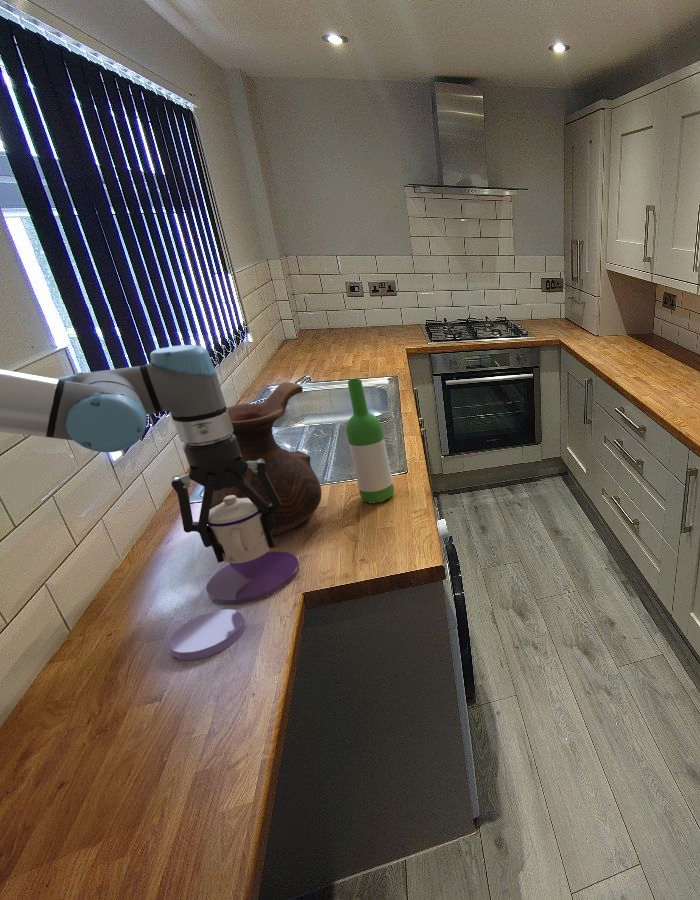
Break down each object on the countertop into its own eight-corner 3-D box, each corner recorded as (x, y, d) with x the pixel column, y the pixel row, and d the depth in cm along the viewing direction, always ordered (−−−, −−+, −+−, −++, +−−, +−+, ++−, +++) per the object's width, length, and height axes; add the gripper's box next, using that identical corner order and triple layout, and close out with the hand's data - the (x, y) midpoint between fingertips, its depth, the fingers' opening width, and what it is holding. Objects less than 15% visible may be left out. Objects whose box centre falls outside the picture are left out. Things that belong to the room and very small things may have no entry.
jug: (323, 536, 114) (288, 405, 102) (206, 557, 107) (155, 419, 95) (333, 493, 133) (305, 377, 121) (234, 508, 126) (194, 388, 114)
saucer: (207, 616, 91) (205, 610, 90) (209, 572, 102) (207, 567, 102) (303, 585, 98) (302, 580, 98) (295, 548, 110) (294, 543, 109)
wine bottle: (366, 508, 125) (340, 387, 113) (357, 496, 131) (331, 379, 119) (399, 498, 129) (377, 380, 118) (389, 487, 135) (366, 373, 123)
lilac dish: (169, 670, 80) (165, 662, 79) (174, 631, 87) (171, 624, 87) (246, 643, 85) (243, 635, 84) (244, 608, 92) (242, 601, 92)
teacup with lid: (221, 546, 101) (201, 493, 96) (275, 533, 105) (259, 481, 100) (216, 579, 91) (193, 522, 87) (275, 563, 95) (257, 507, 91)
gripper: (128, 459, 81) (178, 581, 90) (278, 432, 91) (309, 543, 100) (135, 444, 87) (181, 559, 96) (275, 420, 97) (305, 526, 106)
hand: (246, 551), depth 98 cm, fingers closed on teacup with lid, 7 cm apart
